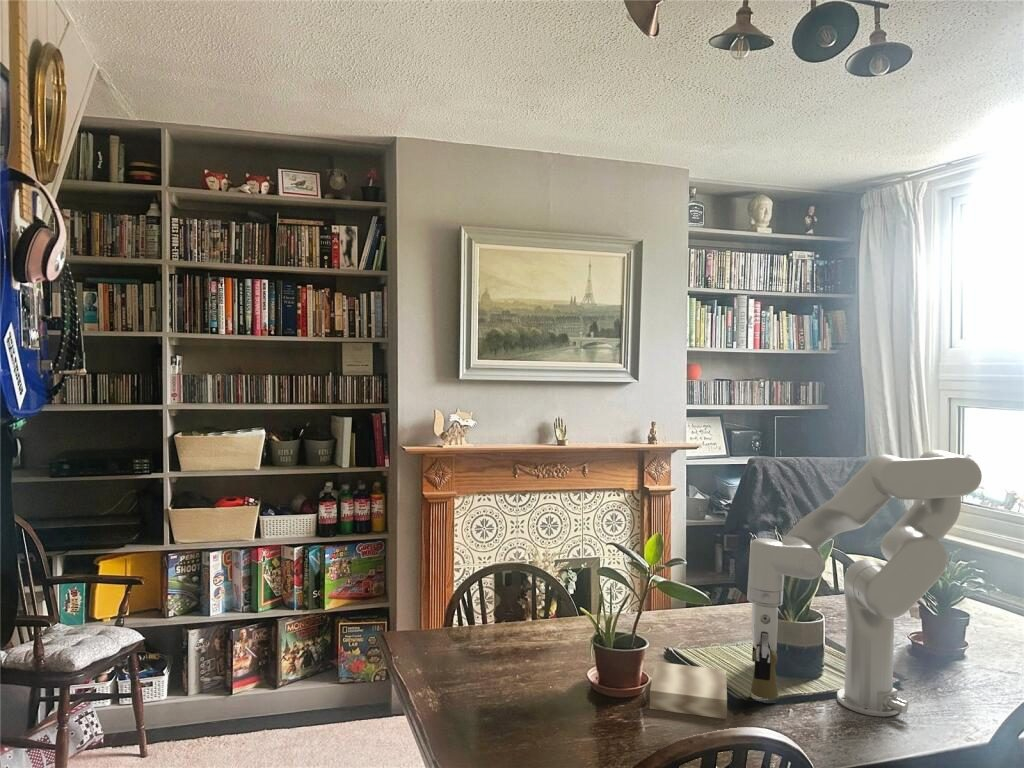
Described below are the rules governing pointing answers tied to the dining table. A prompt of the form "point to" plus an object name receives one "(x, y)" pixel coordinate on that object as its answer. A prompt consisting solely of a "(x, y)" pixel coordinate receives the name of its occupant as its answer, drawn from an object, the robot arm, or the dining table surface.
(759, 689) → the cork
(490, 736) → the dining table surface
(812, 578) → the robot arm
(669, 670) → the birch base
